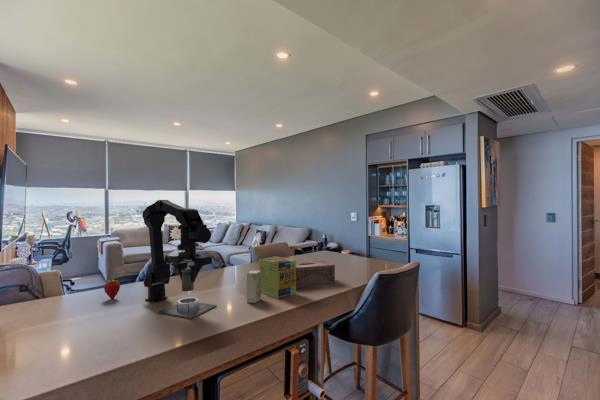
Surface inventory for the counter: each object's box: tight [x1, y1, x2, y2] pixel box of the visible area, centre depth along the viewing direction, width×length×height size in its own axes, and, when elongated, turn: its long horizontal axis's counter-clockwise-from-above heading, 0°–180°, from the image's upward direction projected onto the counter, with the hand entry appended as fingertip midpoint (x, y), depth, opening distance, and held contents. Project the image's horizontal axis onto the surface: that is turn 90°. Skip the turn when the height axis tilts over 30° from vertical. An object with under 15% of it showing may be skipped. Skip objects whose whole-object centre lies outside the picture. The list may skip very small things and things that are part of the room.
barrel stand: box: [157, 296, 218, 320], centre depth 113 cm, size 16×14×4 cm
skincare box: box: [246, 269, 262, 304], centre depth 124 cm, size 6×4×12 cm
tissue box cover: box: [296, 259, 336, 289], centre depth 154 cm, size 26×14×10 cm, turn 109°
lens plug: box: [181, 267, 195, 292], centre depth 114 cm, size 5×5×8 cm
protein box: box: [258, 256, 297, 300], centre depth 136 cm, size 10×15×16 cm
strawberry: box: [103, 276, 121, 300], centre depth 127 cm, size 6×8×10 cm
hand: (188, 281), depth 114 cm, fingers closed on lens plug, 4 cm apart
